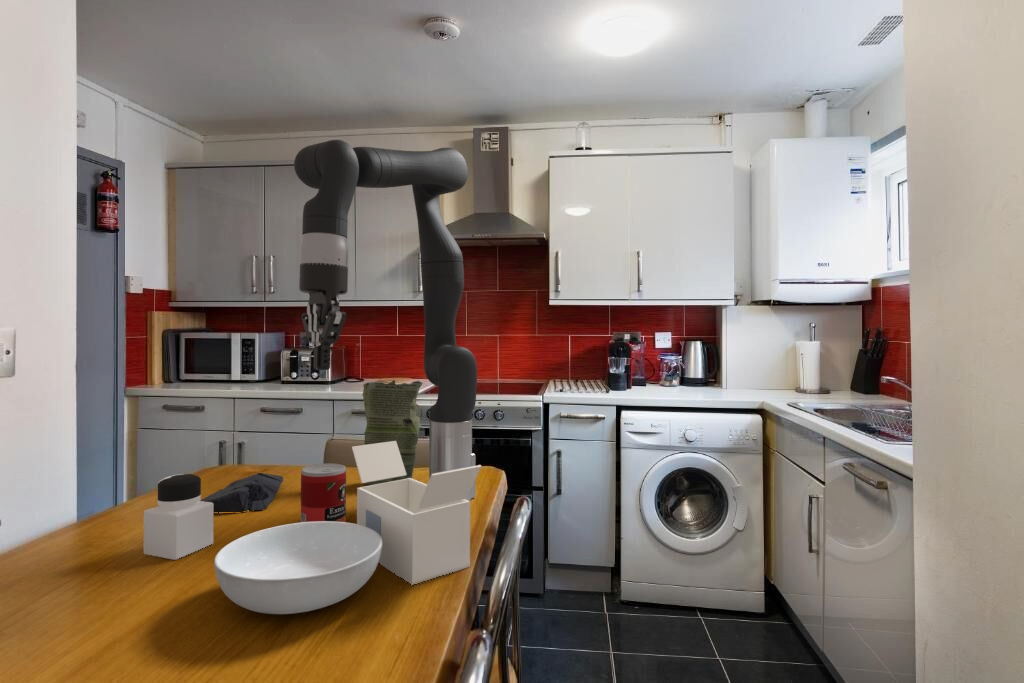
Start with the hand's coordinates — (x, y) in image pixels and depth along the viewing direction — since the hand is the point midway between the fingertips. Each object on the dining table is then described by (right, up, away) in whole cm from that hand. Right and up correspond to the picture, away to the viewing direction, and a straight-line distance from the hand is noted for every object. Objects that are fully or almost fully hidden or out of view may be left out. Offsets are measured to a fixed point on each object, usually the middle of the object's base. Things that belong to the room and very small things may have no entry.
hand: (321, 369), depth 88 cm
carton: (+15, -30, -3) cm, 33 cm away
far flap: (+8, -16, +5) cm, 19 cm away
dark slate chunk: (-27, -30, +29) cm, 50 cm away
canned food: (-3, -30, +10) cm, 32 cm away
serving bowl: (+3, -30, -16) cm, 34 cm away
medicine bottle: (-23, -30, 0) cm, 38 cm away
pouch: (+2, -30, +40) cm, 50 cm away
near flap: (+22, -16, -11) cm, 30 cm away
